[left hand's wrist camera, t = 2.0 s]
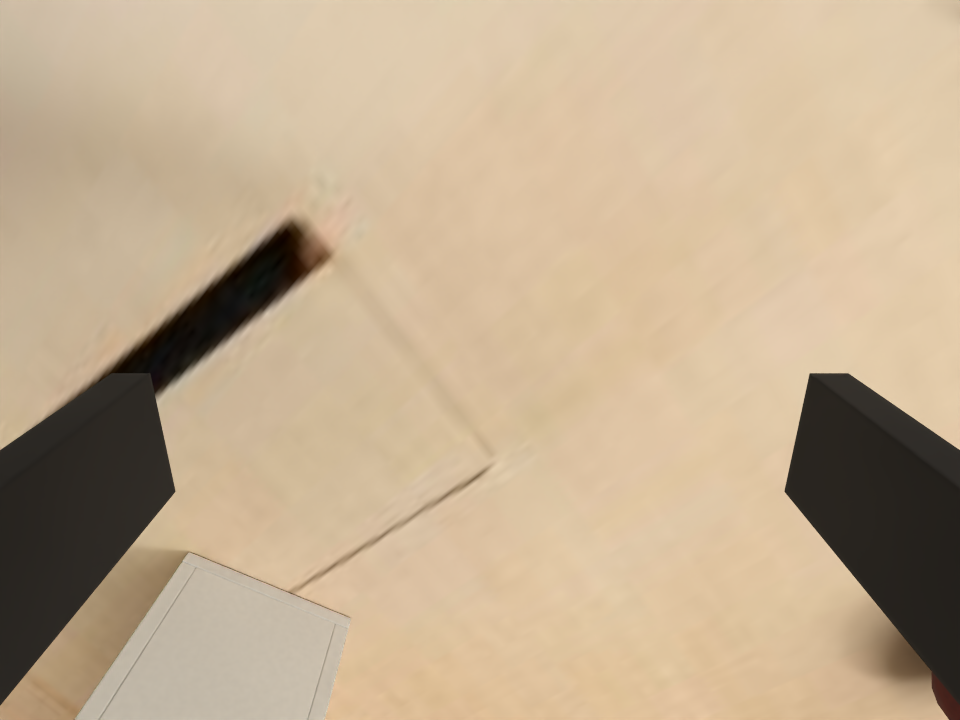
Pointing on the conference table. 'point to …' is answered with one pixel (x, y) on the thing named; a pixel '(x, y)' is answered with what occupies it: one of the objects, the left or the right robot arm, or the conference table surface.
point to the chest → (223, 653)
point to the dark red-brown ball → (945, 699)
